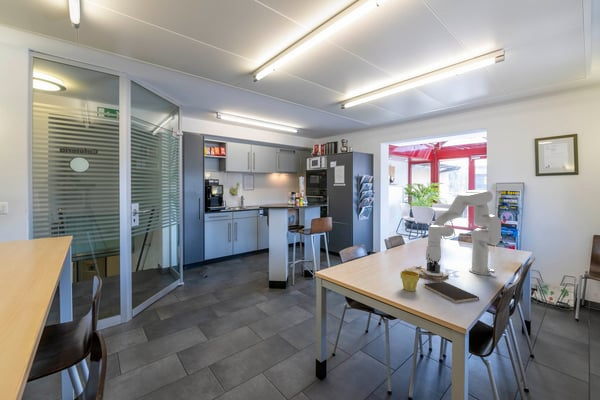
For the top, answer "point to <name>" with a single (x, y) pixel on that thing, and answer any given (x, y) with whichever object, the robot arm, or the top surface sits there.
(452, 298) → the hardcover book
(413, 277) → the plant pot
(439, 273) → the cam dial
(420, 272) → the levelling base
